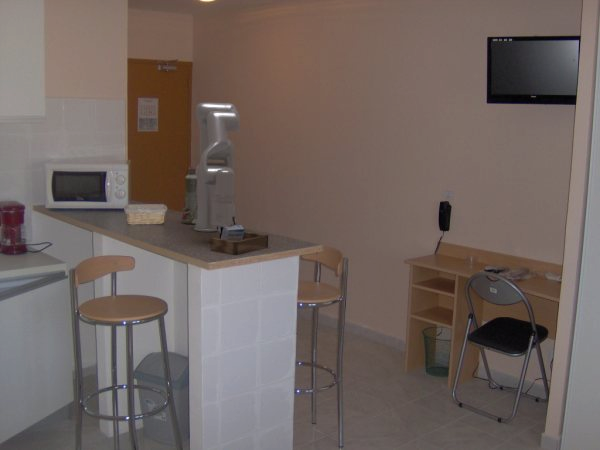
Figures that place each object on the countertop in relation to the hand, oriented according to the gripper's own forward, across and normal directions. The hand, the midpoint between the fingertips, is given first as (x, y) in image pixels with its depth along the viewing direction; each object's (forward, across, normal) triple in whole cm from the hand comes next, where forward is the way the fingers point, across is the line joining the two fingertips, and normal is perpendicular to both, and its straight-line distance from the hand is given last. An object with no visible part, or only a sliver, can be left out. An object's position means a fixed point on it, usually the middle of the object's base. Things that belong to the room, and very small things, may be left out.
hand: (223, 242), depth 299 cm
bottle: (+2, -49, +31) cm, 58 cm away
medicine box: (+1, +4, 0) cm, 4 cm away
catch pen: (+1, +8, 0) cm, 8 cm away
